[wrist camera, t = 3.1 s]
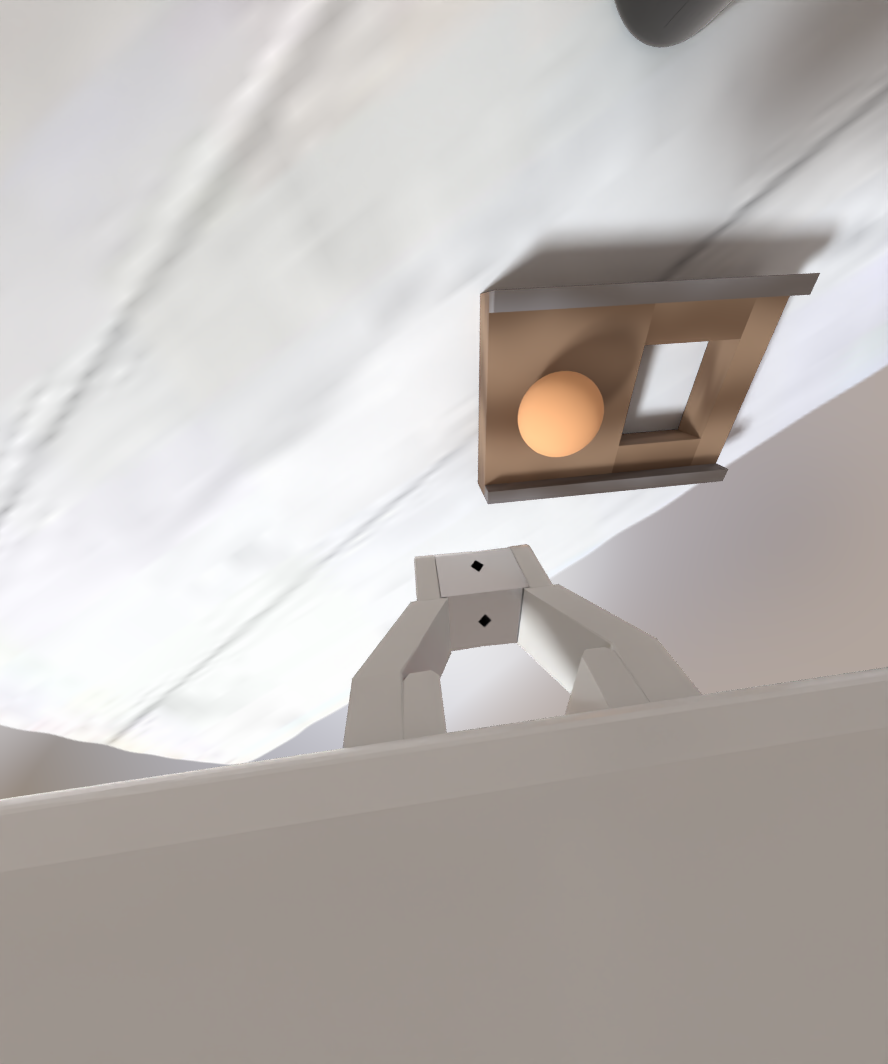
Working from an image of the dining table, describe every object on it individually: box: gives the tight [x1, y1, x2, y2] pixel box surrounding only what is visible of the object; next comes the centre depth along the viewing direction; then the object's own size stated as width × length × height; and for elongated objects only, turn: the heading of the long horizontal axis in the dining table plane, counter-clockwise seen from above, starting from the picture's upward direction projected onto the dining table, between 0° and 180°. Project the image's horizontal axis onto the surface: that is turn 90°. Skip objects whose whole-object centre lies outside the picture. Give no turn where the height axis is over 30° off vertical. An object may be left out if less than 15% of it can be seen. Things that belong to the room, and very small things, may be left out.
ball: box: [518, 371, 604, 457], centre depth 20 cm, size 5×5×5 cm
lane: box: [478, 273, 820, 504], centre depth 23 cm, size 13×19×4 cm
